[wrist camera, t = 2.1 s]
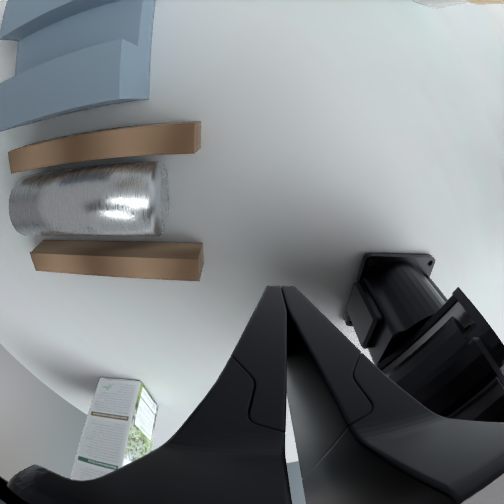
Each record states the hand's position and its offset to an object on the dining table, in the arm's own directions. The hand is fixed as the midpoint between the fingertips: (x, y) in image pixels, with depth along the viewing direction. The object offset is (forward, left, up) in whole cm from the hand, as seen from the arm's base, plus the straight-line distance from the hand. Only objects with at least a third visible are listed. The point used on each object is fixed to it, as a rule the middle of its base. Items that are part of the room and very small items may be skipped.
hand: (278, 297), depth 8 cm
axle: (+11, -1, -7) cm, 13 cm away
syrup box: (+14, +22, -9) cm, 28 cm away
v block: (+11, -11, -9) cm, 18 cm away
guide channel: (+10, 0, -9) cm, 13 cm away
